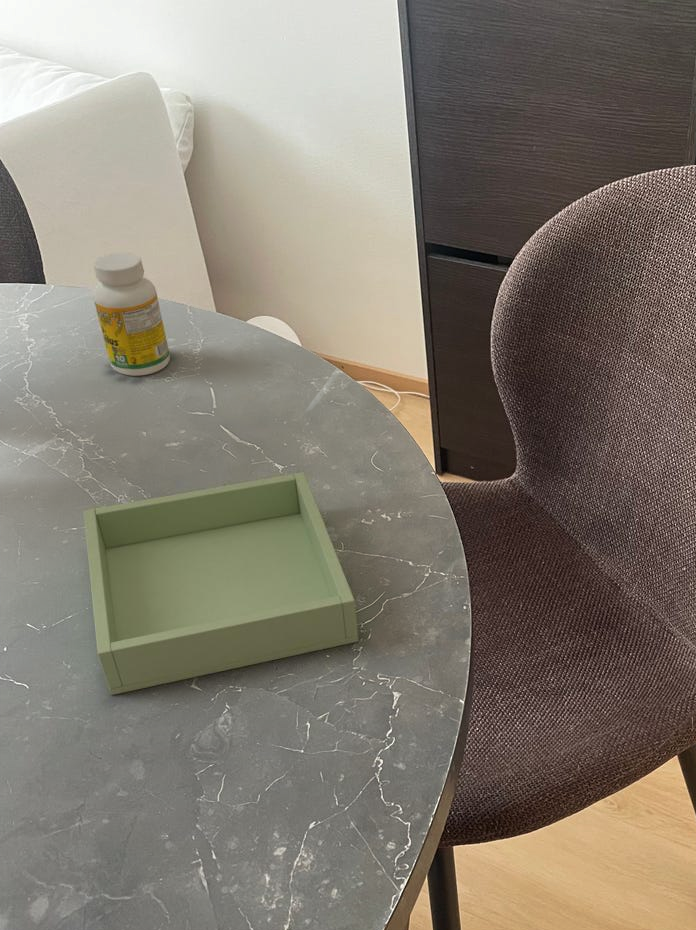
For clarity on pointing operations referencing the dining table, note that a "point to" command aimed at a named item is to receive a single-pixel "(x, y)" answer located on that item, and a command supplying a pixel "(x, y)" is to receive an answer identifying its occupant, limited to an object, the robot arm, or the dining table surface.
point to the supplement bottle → (129, 315)
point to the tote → (214, 582)
